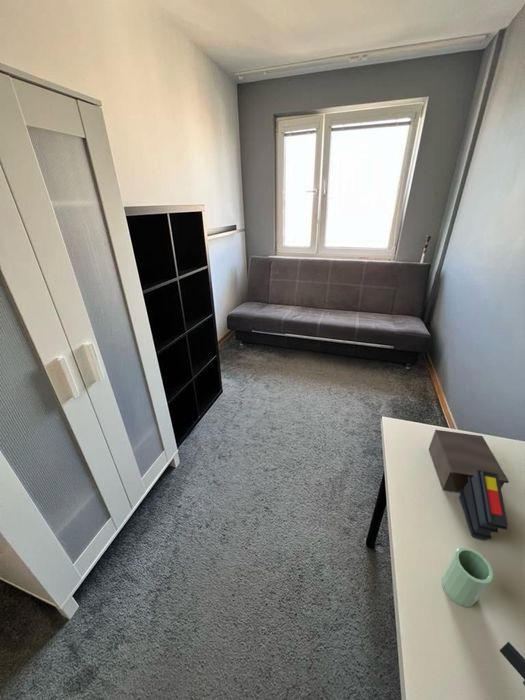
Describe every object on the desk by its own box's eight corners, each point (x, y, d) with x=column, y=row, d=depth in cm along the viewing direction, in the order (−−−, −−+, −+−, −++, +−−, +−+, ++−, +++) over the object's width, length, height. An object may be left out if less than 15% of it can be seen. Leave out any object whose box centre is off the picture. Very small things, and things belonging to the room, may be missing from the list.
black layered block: (470, 485, 76) (499, 472, 64) (479, 541, 69) (512, 538, 57) (455, 482, 77) (480, 468, 65) (461, 537, 70) (491, 533, 58)
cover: (507, 483, 70) (509, 481, 70) (451, 474, 73) (452, 472, 72) (481, 437, 83) (482, 435, 83) (434, 431, 86) (435, 429, 85)
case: (494, 499, 74) (506, 480, 71) (442, 490, 77) (450, 471, 74) (472, 456, 87) (481, 437, 83) (428, 449, 90) (434, 431, 86)
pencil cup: (468, 575, 60) (484, 551, 55) (480, 611, 55) (499, 587, 50) (437, 568, 61) (450, 543, 56) (446, 602, 56) (461, 578, 51)
